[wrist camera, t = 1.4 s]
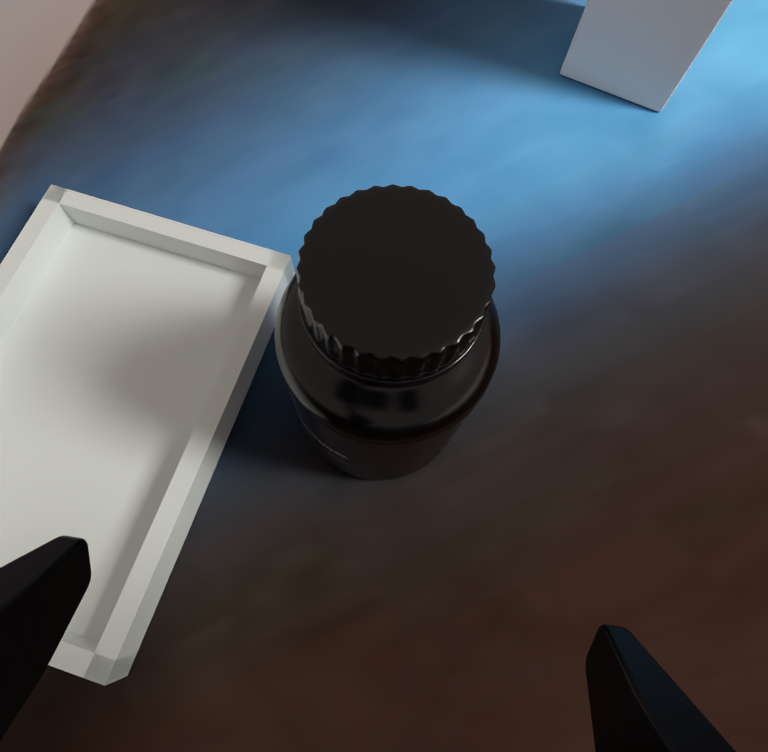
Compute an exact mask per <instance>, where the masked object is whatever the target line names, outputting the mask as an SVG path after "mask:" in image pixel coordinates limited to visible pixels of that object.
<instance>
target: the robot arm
mask: <svg viewBox="0 0 768 752" xmlns="http://www.w3.org/2000/svg"><path fill="white" fill-rule="evenodd" d="M90 580H91V565H90V557H89V550H88V544H87V542H86V540H85V539H83V538H78V537H72V536H66V535H63V536H59V537H57V538H55V539H53V540H51V541H49V542H47V543H45V544H43V545H41V546H40V547H38V548H36V549H34V550H32V551H30V552H28V553H27V554H25V555H23V556H21V557H19V558H17V559H15V560H13V561H12V562H10V563H8V564H6V565H4V566H2V567H0V741H1V739H2V737H3V736H4V734H5V733H6V731H7V730H8V728H9V727H10V725H11V723H12V722H13V720H14V719H15V717H16V716H17V714H18V713H19V711H20V709H21V708H22V706H23V705H24V703H25V702H26V700H27V699H28V697H29V695H30V694H31V692H32V691H33V689H34V688H35V686H36V684H37V683H38V681H39V680H40V678H41V676H42V675H43V673H44V671H45V669H46V668H47V666H48V664H49V662H50V660H51V659H52V657H53V655H54V653H55V651H56V649H57V647H58V645H59V643H60V641H61V639H62V637H63V635H64V633H65V631H66V629H67V627H68V625H69V623H70V622H71V620H72V618H73V616H74V614H75V612H76V610H77V608H78V606H79V604H80V602H81V600H82V598H83V596H84V594H85V592H86V590H87V588H88V586H89V583H90ZM586 677H587V685H588V693H589V701H590V709H591V718H592V726H593V734H594V742H595V750H596V752H736V751H735V750H734V749H733V748H732V746H731V745H730V744H729V743H728V742H727V741H726V740H725V739H724V737H723V736H722V735H721V734H720V733H719V732H718V731H717V730H716V728H715V727H714V726H713V725H712V724H711V723H710V722H709V720H708V719H707V718H706V717H705V716H704V715H703V714H702V713H701V711H700V710H699V709H698V708H697V707H696V706H695V705H694V703H693V702H692V701H691V700H690V699H689V698H688V697H687V696H686V694H685V693H684V692H683V691H682V690H681V689H680V688H679V687H678V685H677V684H676V683H675V682H674V681H673V680H672V679H671V677H670V676H669V675H668V674H667V673H666V672H665V671H664V670H663V668H662V667H661V666H660V665H659V664H658V663H657V662H656V660H655V659H654V658H653V657H652V656H651V655H650V654H649V653H648V651H647V650H646V649H645V648H644V647H643V646H642V645H641V644H640V642H639V641H638V640H637V639H636V638H635V637H634V636H633V634H632V633H631V632H630V631H629V630H627V629H626V628H624V627H619V626H613V625H606V624H604V625H601V626H600V627H599V629H598V631H597V633H596V635H595V638H594V640H593V642H592V645H591V647H590V649H589V652H588V654H587V658H586Z"/></svg>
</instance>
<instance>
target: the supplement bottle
mask: <svg viewBox="0 0 768 752" xmlns="http://www.w3.org/2000/svg"><path fill="white" fill-rule="evenodd" d="M298 257H299V264H298V266H297V269H296V273H295V274H294V276H293V277H292V279H291V280H290V281H289V283H288V285H287V287H286V289H285V291H284V293H283V295H282V298H281V300H280V304H279V307H278V310H277V315H276V320H275V347H276V354H277V358H278V362H279V366H280V370H281V372H282V375H283V378H284V381H285V383H286V386H287V388H288V391H289V393H290V396H291V399H292V401H293V404H294V406H295V409H296V411H297V414H298V417H299V419H300V422H301V424H302V427H303V429H304V431H305V433H306V435H307V437H308V439H309V441H310V442H311V444H312V446H313V447H314V448H315V449H316V451H317V452H318V453H319V454H320V455H321V456H322V457H323V458H324V459H325V460H326V461H327V462H328V463H330V464H331V465H332V466H334V467H335V468H337V469H339V470H340V471H342V472H344V473H347V474H349V475H352V476H355V477H358V478H362V479H368V480H390V479H396V478H400V477H403V476H406V475H409V474H411V473H413V472H415V471H417V470H419V469H421V468H422V467H424V466H425V465H427V464H428V463H429V462H431V461H432V460H433V459H434V458H435V457H436V456H437V455H438V454H439V453H440V452H441V451H442V449H443V448H444V447H445V446H446V445H447V443H448V442H449V441H450V439H451V438H452V437H453V435H454V434H455V433H456V431H457V430H458V429H459V427H460V426H461V425H462V423H463V422H464V421H465V419H466V418H467V416H468V415H469V414H470V412H471V411H472V410H473V408H474V407H475V406H476V404H477V403H478V402H479V400H480V399H481V397H482V396H483V394H484V393H485V391H486V389H487V387H488V385H489V383H490V381H491V379H492V377H493V374H494V372H495V369H496V366H497V362H498V358H499V351H500V324H499V318H498V314H497V310H496V306H495V304H494V301H493V298H492V296H491V295H492V293H493V291H494V289H495V281H494V277H493V275H494V272H495V265H494V263H493V262H492V260H491V249H490V247H489V246H488V245H487V244H486V243H485V236H484V234H483V233H482V232H481V231H480V230H478V229H477V227H476V224H475V222H474V220H473V219H471V218H470V217H468V216H466V215H465V213H464V211H463V210H462V208H460V207H458V206H455V205H453V204H452V203H451V202H450V201H449V200H448V199H447V198H446V197H442V196H436V195H435V194H434V193H433V192H431V191H430V190H419V189H417V188H415V187H413V186H406V187H400V186H397V185H389V186H386V187H380V186H373V187H371V188H369V189H368V190H357V191H355V192H354V193H353V194H352V195H350V196H347V197H342V198H340V199H339V200H338V201H337V202H336V204H335V205H332V206H329V207H327V208H326V209H325V210H324V212H323V214H322V216H320V217H319V218H317V219H315V220H314V222H313V225H312V229H311V230H310V231H309V232H307V233H306V234H305V236H304V245H303V246H302V247H301V249H300V250H299V253H298Z"/></svg>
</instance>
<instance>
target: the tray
mask: <svg viewBox="0 0 768 752" xmlns="http://www.w3.org/2000/svg"><path fill="white" fill-rule="evenodd" d="M294 274H295V272H294V267H293V263H292V259H291V256H290V255H286V254H283V253H280V252H276V251H273V250H270V249H266V248H263V247H260V246H256V245H253V244H250V243H246V242H243V241H239V240H236V239H233V238H229V237H226V236H223V235H219V234H216V233H213V232H209V231H206V230H203V229H199V228H196V227H193V226H189V225H186V224H182V223H179V222H176V221H172V220H169V219H166V218H162V217H159V216H156V215H152V214H149V213H146V212H142V211H139V210H136V209H132V208H129V207H126V206H122V205H119V204H115V203H112V202H109V201H105V200H102V199H99V198H95V197H92V196H89V195H85V194H82V193H79V192H75V191H72V190H69V189H65V188H62V187H58V186H55V185H52V184H51V186H50V187H49V189H48V190H47V192H46V193H45V195H44V197H43V198H42V200H41V201H40V203H39V204H38V206H37V208H36V209H35V211H34V212H33V214H32V215H31V217H30V219H29V220H28V222H27V223H26V225H25V226H24V228H23V230H22V231H21V233H20V234H19V236H18V237H17V239H16V241H15V242H14V244H13V245H12V247H11V249H10V250H9V252H8V253H7V255H6V256H5V258H4V260H3V261H2V263H1V264H0V567H2V566H4V565H6V564H8V563H10V562H12V561H13V560H15V559H17V558H19V557H21V556H23V555H25V554H27V553H28V552H30V551H32V550H34V549H36V548H38V547H40V546H41V545H43V544H45V543H47V542H49V541H51V540H53V539H55V538H57V537H59V536H63V535H66V536H72V537H78V538H83V539H85V540H86V542H87V544H88V550H89V557H90V565H91V580H90V583H89V586H88V588H87V590H86V592H85V594H84V596H83V598H82V600H81V602H80V604H79V606H78V608H77V610H76V612H75V614H74V616H73V618H72V620H71V622H70V623H69V625H68V627H67V629H66V631H65V633H64V635H63V637H62V639H61V641H60V643H59V645H58V647H57V649H56V651H55V653H54V655H53V657H52V659H51V660H50V662H49V664H48V665H49V666H52V667H55V668H58V669H60V670H63V671H66V672H69V673H71V674H74V675H77V676H79V677H82V678H85V679H88V680H90V681H93V682H96V683H99V684H101V685H104V686H106V685H108V684H110V683H112V682H115V681H117V680H119V679H121V678H124V677H126V676H128V673H129V671H130V669H131V666H132V664H133V662H134V659H135V657H136V654H137V652H138V650H139V647H140V645H141V643H142V640H143V638H144V635H145V633H146V631H147V628H148V626H149V624H150V621H151V619H152V617H153V614H154V612H155V609H156V607H157V605H158V602H159V600H160V598H161V595H162V593H163V591H164V588H165V586H166V583H167V581H168V579H169V576H170V574H171V572H172V569H173V567H174V564H175V562H176V560H177V557H178V555H179V553H180V550H181V548H182V546H183V543H184V541H185V538H186V536H187V534H188V531H189V529H190V527H191V524H192V522H193V519H194V517H195V515H196V512H197V510H198V508H199V505H200V503H201V501H202V498H203V496H204V493H205V491H206V489H207V486H208V484H209V482H210V479H211V477H212V475H213V472H214V470H215V467H216V465H217V463H218V460H219V458H220V456H221V453H222V451H223V448H224V446H225V444H226V441H227V439H228V437H229V434H230V432H231V430H232V427H233V425H234V422H235V420H236V418H237V415H238V413H239V411H240V408H241V406H242V404H243V401H244V399H245V396H246V394H247V392H248V389H249V387H250V385H251V382H252V380H253V377H254V375H255V373H256V370H257V368H258V366H259V363H260V361H261V359H262V356H263V354H264V351H265V349H266V347H267V344H268V342H269V340H270V337H271V335H272V332H273V330H274V328H275V320H276V315H277V310H278V307H279V304H280V300H281V298H282V295H283V293H284V291H285V289H286V287H287V285H288V283H289V281H290V280H291V279H292V277H293V276H294Z"/></svg>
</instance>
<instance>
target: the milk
mask: <svg viewBox="0 0 768 752" xmlns="http://www.w3.org/2000/svg"><path fill="white" fill-rule="evenodd" d="M732 1H733V0H588V1H587V4H586V6H585V9H584V12H583V14H582V17H581V19H580V22H579V24H578V27H577V29H576V32H575V34H574V37H573V40H572V42H571V45H570V47H569V50H568V52H567V55H566V57H565V60H564V62H563V65H562V68H561V70H560V74H561V75H563V76H566V77H568V78H571V79H574V80H576V81H579V82H581V83H584V84H587V85H589V86H592V87H595V88H597V89H600V90H602V91H605V92H608V93H610V94H613V95H615V96H618V97H621V98H623V99H626V100H628V101H631V102H634V103H636V104H639V105H642V106H644V107H647V108H649V109H652V110H655V111H657V112H661V111H662V109H663V108H664V106H665V105H666V103H667V102H668V100H669V99H670V97H671V95H672V94H673V92H674V91H675V89H676V88H677V86H678V85H679V83H680V81H681V80H682V78H683V77H684V75H685V74H686V72H687V71H688V69H689V68H690V66H691V64H692V63H693V61H694V60H695V58H696V57H697V55H698V54H699V52H700V51H701V49H702V47H703V46H704V44H705V43H706V41H707V40H708V38H709V37H710V35H711V34H712V32H713V30H714V29H715V27H716V26H717V24H718V23H719V21H720V20H721V18H722V16H723V15H724V13H725V12H726V10H727V9H728V7H729V6H730V4H731V3H732Z"/></svg>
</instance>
